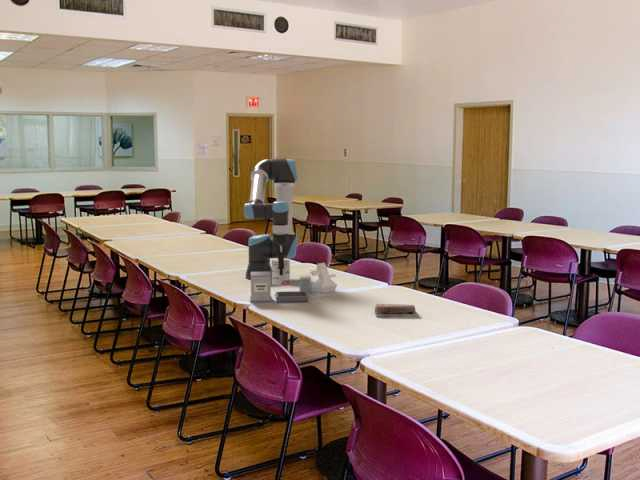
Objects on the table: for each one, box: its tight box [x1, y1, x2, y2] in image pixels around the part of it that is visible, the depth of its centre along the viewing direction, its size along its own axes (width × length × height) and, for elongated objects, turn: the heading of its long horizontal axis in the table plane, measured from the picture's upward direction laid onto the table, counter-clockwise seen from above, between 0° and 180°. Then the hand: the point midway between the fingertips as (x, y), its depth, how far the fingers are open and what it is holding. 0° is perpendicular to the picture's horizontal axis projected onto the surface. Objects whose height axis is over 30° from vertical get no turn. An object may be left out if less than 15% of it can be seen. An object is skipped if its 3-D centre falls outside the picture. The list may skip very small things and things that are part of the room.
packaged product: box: [374, 303, 419, 318], centre depth 281 cm, size 18×5×10 cm
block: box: [299, 274, 312, 294], centre depth 324 cm, size 5×5×8 cm
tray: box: [275, 290, 309, 303], centre depth 309 cm, size 12×15×2 cm
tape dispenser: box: [310, 262, 338, 294], centre depth 327 cm, size 8×14×14 cm, turn 125°
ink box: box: [271, 258, 291, 286], centre depth 323 cm, size 9×5×12 cm, turn 85°
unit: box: [249, 272, 273, 303], centre depth 307 cm, size 10×10×13 cm
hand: (280, 279), depth 323 cm, fingers closed on ink box, 5 cm apart
